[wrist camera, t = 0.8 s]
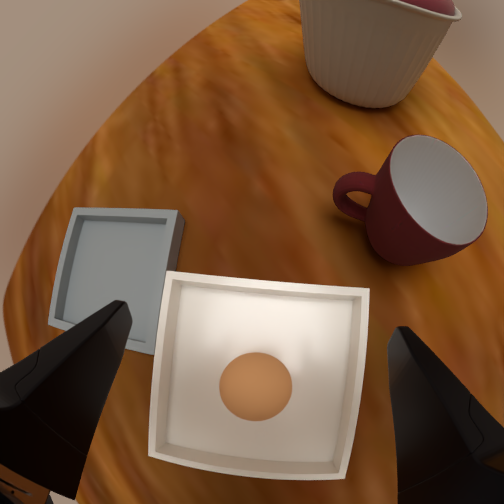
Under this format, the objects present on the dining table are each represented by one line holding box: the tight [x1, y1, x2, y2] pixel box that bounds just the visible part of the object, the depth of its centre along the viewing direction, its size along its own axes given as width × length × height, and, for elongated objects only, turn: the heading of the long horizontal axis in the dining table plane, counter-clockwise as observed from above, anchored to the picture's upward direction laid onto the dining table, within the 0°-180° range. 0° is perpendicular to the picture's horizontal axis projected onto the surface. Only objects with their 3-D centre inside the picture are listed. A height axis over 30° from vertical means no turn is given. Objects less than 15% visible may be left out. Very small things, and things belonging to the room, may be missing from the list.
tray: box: [48, 208, 185, 355], centre depth 23 cm, size 12×12×2 cm
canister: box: [299, 0, 462, 108], centre depth 20 cm, size 18×18×21 cm
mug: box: [333, 135, 488, 266], centre depth 19 cm, size 11×8×10 cm
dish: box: [148, 271, 369, 480], centre depth 19 cm, size 15×15×3 cm
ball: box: [219, 352, 292, 421], centre depth 18 cm, size 5×5×5 cm
